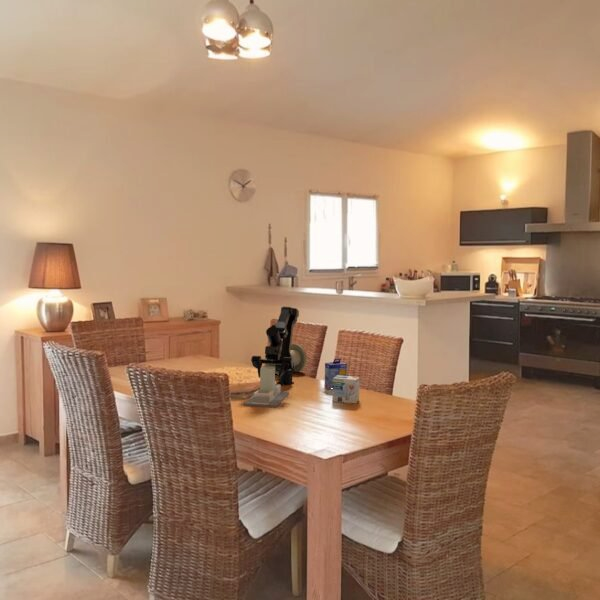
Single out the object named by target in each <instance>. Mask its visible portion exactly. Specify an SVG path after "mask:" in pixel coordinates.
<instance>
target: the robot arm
mask: <svg viewBox="0 0 600 600" xmlns="http://www.w3.org/2000/svg"><path fill="white" fill-rule="evenodd" d="M299 316H300V310H299V309H298V308H296V307H292V306H281V308H280V314H279V316H278V319H277V322H276V323H274V324H272V325H271V326H269V327H268V328H267V329H266V330H265V333H266V337H267V340H268V342H269V345H268V346H265V347H264V348H265V349H264V354H265V355H264V356H266V358H267V359H265V358H262V357H261V355H252V356H251V359H250V361H251V365H252V367H254V368H255V369H257V375H258V378H259V379H260V368H261V367H263V364H265V365H266V364H275V365H276V371H279V375H278V378H277V379H278V380H277V381H275V384H278V383H279V384H280V385H283V384H284V386H286V385H287V384H288V385H291V383H292V384H294V383H295V381H293V373H294V372H296V371H295V366H294V362H293V358H292V356H291V354H290V350H291V345H292V340H293V331H294V325H295V324H296V323H297V322H298V318H299Z"/></svg>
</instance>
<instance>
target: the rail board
mask: <svg viewBox="0 0 600 600" xmlns="http://www.w3.org/2000/svg"><path fill="white" fill-rule="evenodd" d="M288 395H290V391H285V390H284V391H283V390H282V385H281V384H278V383H275V396H274V397H273V391H265V390H260V389H257V390H256V391H255V392H254V393H253V395H252V396H251V397H249V399H247V400H246V401H245V402H244V403H243V406H246V407H247V406H248V407H260V408H261V407H263V408H278V406H279V405H280V404H281V403H282V402H283V401H284V400H285V399H286V398H287V397H288ZM286 396H287V397H286ZM285 397H286V398H285Z"/></svg>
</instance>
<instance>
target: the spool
mask: <svg viewBox="0 0 600 600" xmlns="http://www.w3.org/2000/svg"><path fill="white" fill-rule="evenodd" d="M290 354H291V356H292V358H293V362H294V366H295V372H296V373H297V372H300V371H303V370H304V369H305V367H306V364H307V354H306V351H305V349H304V346H301V345H300V344H298V343H291V350H290ZM264 356H265V355H264ZM264 359H267V358H266V356H265V357H264ZM265 366H270V367H275V374H277V375H276V376H279V371H276V365H275V364H265Z"/></svg>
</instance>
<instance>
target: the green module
mask: <svg viewBox="0 0 600 600" xmlns="http://www.w3.org/2000/svg"><path fill="white" fill-rule="evenodd" d="M259 381H260V382H259V390H265V391H273V397H274V396H275V384H276V375H275V367H270V366H266V365H264V366H263V365H262V366H261V368H260V378H259Z"/></svg>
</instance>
